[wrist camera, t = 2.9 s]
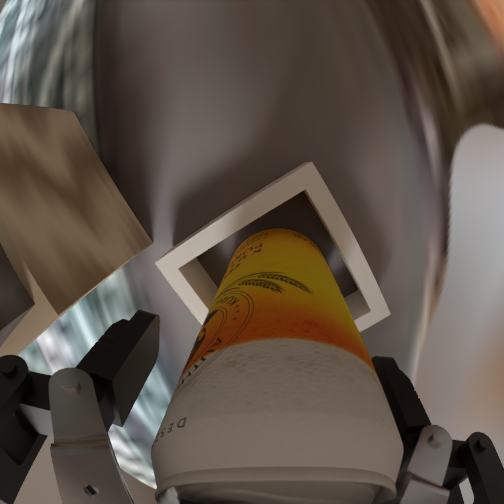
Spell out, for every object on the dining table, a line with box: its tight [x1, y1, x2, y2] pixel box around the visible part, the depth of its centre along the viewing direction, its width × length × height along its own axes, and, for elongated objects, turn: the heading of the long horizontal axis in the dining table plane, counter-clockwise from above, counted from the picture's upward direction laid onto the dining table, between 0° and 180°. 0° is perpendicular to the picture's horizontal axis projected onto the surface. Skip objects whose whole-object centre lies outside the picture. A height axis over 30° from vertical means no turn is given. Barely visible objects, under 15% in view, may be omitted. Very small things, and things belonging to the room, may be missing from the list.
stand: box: [0, 103, 153, 357], centre depth 12 cm, size 12×12×13 cm
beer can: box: [151, 228, 404, 504], centre depth 11 cm, size 6×6×15 cm
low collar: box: [155, 162, 391, 332], centre depth 17 cm, size 10×10×3 cm
